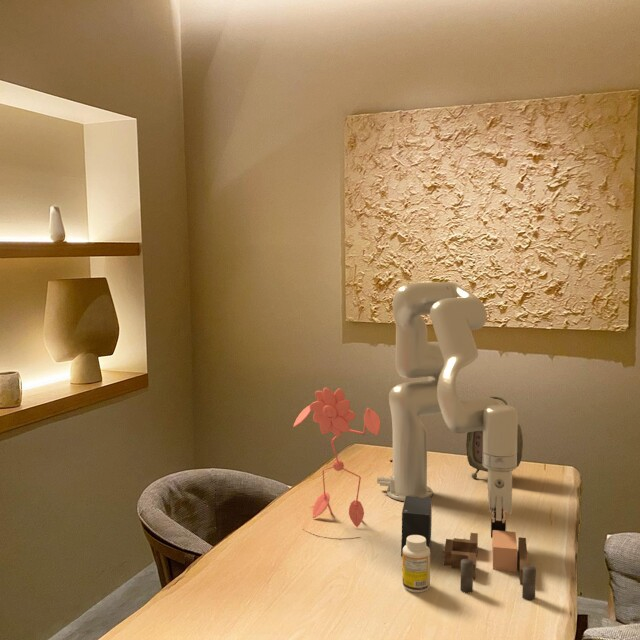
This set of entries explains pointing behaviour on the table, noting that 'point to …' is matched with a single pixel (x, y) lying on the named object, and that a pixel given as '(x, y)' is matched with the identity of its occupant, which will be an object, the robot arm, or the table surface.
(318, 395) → the figurine
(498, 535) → the block
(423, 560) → the supplement bottle
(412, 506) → the small box
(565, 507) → the table surface
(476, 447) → the tabletop clock
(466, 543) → the brown notched pieces
